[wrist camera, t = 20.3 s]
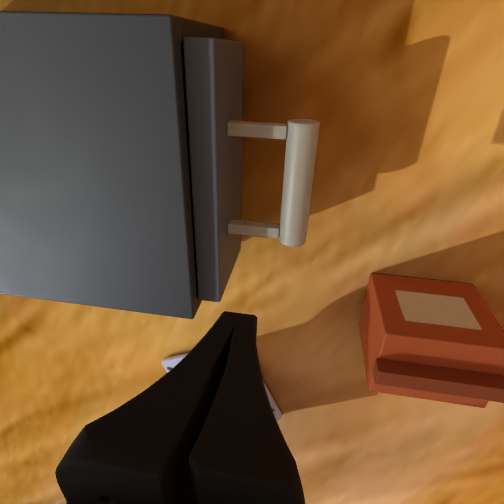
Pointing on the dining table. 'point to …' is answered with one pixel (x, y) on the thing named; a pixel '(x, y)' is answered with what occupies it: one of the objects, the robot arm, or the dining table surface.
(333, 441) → the dining table surface
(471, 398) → the ridged terracotta block
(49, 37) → the cabinet
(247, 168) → the dining table surface
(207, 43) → the drawer
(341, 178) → the dining table surface
